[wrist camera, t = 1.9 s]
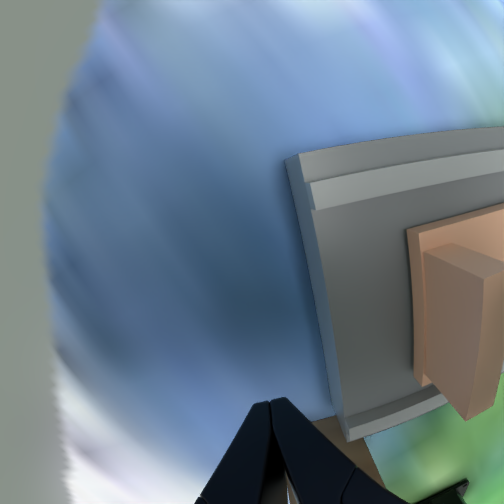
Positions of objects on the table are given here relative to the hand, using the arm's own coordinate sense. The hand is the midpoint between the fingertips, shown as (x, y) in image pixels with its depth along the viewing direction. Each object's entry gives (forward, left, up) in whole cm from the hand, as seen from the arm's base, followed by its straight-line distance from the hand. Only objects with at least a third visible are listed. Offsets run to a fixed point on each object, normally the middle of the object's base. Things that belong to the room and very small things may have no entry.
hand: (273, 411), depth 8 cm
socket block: (0, -10, -6) cm, 12 cm away
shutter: (0, -9, -3) cm, 9 cm away
